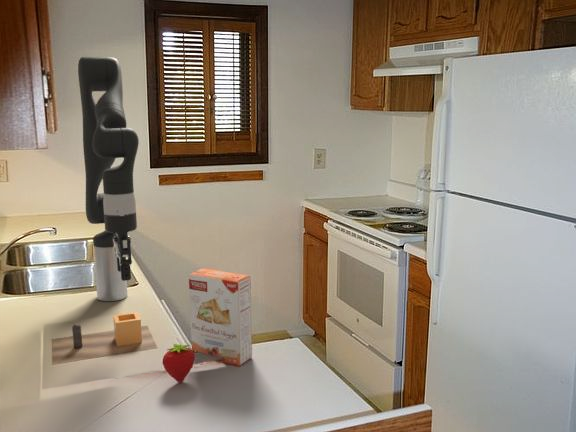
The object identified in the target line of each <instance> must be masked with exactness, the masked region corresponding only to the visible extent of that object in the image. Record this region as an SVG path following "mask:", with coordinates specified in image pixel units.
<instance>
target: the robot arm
mask: <svg viewBox="0 0 576 432" xmlns="http://www.w3.org/2000/svg"><path fill="white" fill-rule="evenodd" d="M77 74H78V75H77V76H78V83H79V84H78V85H79V94H80V102H81V110H82V111H81V112H82V146H83V160H84V169H85V214H86V215H85V217H86V219H87V221H88V223H89V224H91V225H100V224H104V230H103V231H101V232H98V233H97V234H94V236H93V237H92V238H93V239H92V243H93V245H92V246H93V255H94V256H93V259H94V270H95V283H96V286H95V287H96V297H97V298H96V299H97V300H99V301H102V302H115V301H116V302H117V301H121V300H123V299H127V297H128V281H130V280H131V279H132V276H131V275H132V273H131V264H133V260H132V246H131V245H132V238H131V237H130V235H128V233H129V232H134V231H136V230H137V228H138V225H137V224H138V223H137V221H138V220H137V208H136V198H135V192H134V191H135V190H134V166H135V161H136V157H137V153H138V150H139V149H138V148H139V136H138V134H137V132H136V131H135V130H134V129H133V128H131V127H127V119H126V115H125V110H124V104H123V103H124V102H123V101H124V98H123V94H124V93H123V92H124V91H123V77H122V76H123V75H122V68H121V65H120V62H119V60H118V59H117V58H115V57H112V56H82V57H80V58H79V60H78V64H77ZM93 92H104V93H103V94H102V95H101V96H100V97H99V98H98V100H97V102H95V101H96V100H95V98H94V96H93ZM119 158H120V159H121V158H123V160H122V162H121V163H120V164H119V165H117V166H114V167H112V166H113V164H114V163H115V161H116V159H119ZM101 183H102V185H103V187H102V188H103V189H102V190H103V193H101V192H100V193H98V190H99V187H100V185H101Z"/></svg>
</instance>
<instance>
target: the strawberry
mask: <svg viewBox="0 0 576 432" xmlns="http://www.w3.org/2000/svg"><path fill="white" fill-rule="evenodd" d="M177 340H178V342H179V343H180V344H176V343H173V347H170V348H168V349H166V353H165V354H164V355H163V358H162V365H163V368H164V370H165V372H166V373H168V375H169V376H170V377H171V378H173V379H174V380H175V381H176V382H177V383H182V382H184V381H185V379H186V377H187V376H188V374H189V373H190V371H191V369H192V368H193V366H194V362H195V359H196V358H195V357H196V356H195V352H194V351H193V350H192V348H190V346H191V344H182V342H181V341H180V340H179V339H177Z"/></svg>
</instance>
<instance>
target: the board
mask: <svg viewBox="0 0 576 432" xmlns="http://www.w3.org/2000/svg"><path fill="white" fill-rule="evenodd" d="M71 330H72V336H71V335H70V336H65V337H57V338H52V339H51V365H59V364H65V363H70V362H78V361H84V360H90V359H96V358H97V359H98V358H102V357H103V358H104V357H110V356H115V355H122V354H128V353H134V352H140V351H148V350H153V349H158V346H157V344H156V342H155V339H154V337H153V334H152V332H151V330H150V328H149V326H148V325H141V334H142V342H141V343H134V344H128V345H121V346H117V343H116V340H115V334H114V329H113V330H107V331H106V330H105V331H100V332H94V333H93V332H92V333H86V334H82V326H81V325H80V324H79V323H75V324H73V325H72V329H71Z"/></svg>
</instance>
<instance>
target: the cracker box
mask: <svg viewBox="0 0 576 432" xmlns="http://www.w3.org/2000/svg"><path fill="white" fill-rule="evenodd" d="M251 289H252V288H251V276H250V275H247V274H241V273H234V272H227V271H222V270H215V269H208V268H202V267H201V268H200V269H198V270H195V271H193V272H191V273H189V274H188V290H189V292H188V293H189V314H190V317H189V318H190V336H191V337H190V338H191V350H193V352H194V351H195V352H199V353H203V354H206V355H211V356H215V357H218V359H215V361H217V362H221V363H225V364H228V365H232V366H237V367H242V365H243V364H244V363H247V362H248V361H249V360H250V359H252V358H253V347H252V346H253V340H252V339H253V338H252V337H253V336H252V295H251V294H252V293H251ZM219 357H220V358H219Z"/></svg>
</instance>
